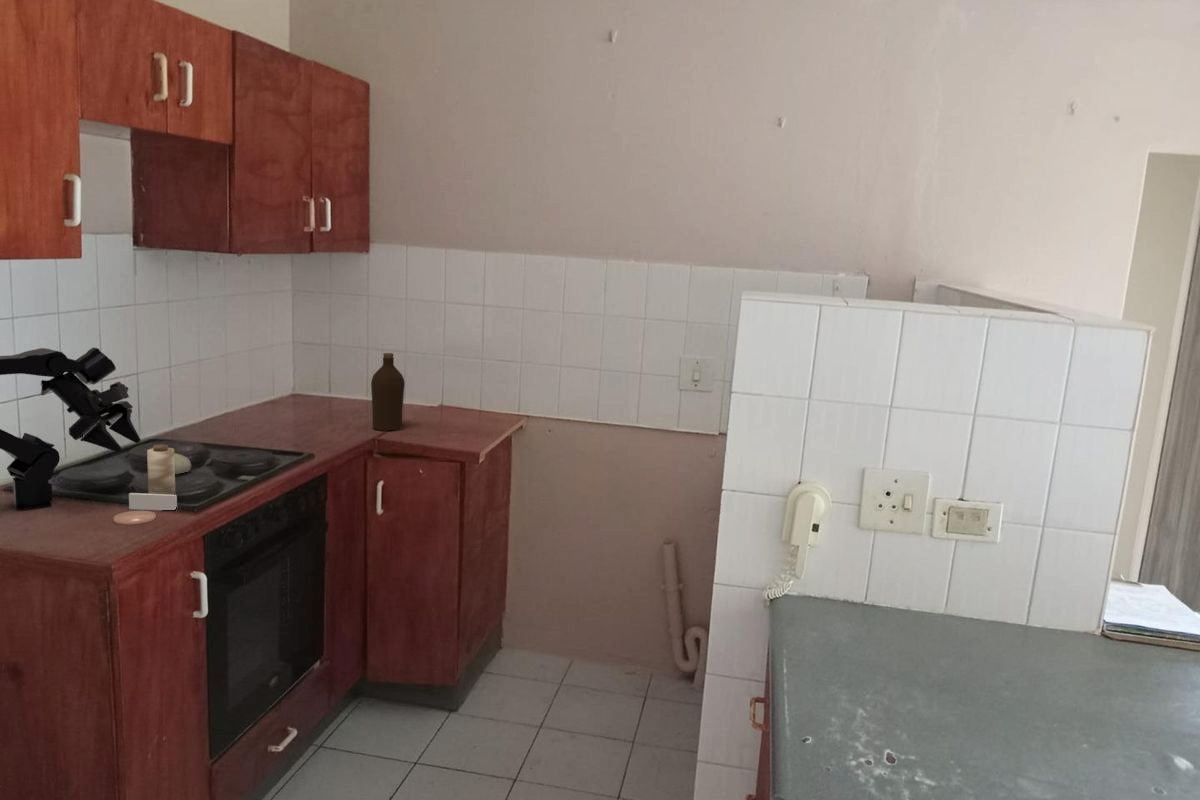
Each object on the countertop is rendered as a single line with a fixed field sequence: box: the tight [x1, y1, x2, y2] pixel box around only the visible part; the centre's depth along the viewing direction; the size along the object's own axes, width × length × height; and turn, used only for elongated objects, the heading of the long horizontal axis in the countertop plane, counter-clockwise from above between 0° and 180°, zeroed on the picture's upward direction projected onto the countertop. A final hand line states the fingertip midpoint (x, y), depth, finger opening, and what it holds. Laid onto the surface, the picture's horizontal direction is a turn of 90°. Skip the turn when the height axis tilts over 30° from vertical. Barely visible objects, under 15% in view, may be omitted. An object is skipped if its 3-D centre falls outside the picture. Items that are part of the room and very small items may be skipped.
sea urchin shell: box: [174, 452, 192, 474], centre depth 224 cm, size 9×8×8 cm
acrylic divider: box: [128, 492, 178, 511], centre depth 195 cm, size 10×1×4 cm, turn 93°
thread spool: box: [146, 443, 176, 495], centre depth 201 cm, size 6×6×13 cm
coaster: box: [113, 510, 157, 526], centre depth 188 cm, size 8×8×1 cm
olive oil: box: [370, 352, 405, 431], centre depth 288 cm, size 11×11×25 cm
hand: (130, 446), depth 199 cm, fingers open, 9 cm apart
